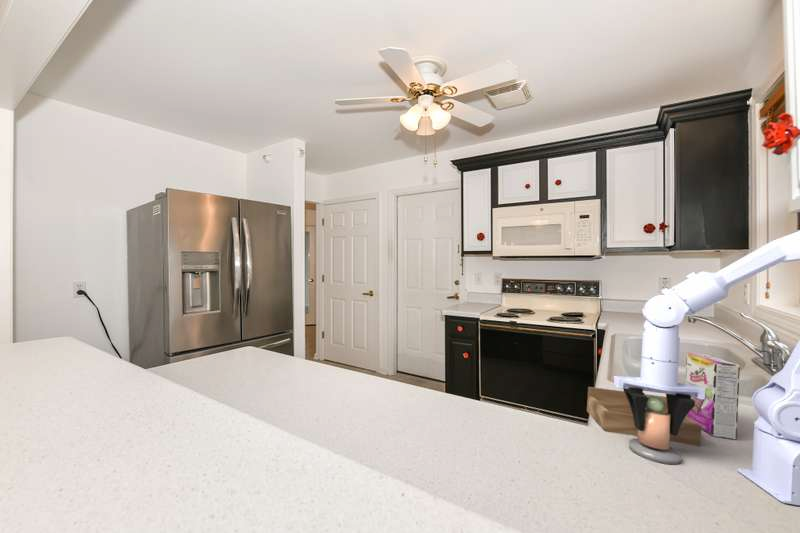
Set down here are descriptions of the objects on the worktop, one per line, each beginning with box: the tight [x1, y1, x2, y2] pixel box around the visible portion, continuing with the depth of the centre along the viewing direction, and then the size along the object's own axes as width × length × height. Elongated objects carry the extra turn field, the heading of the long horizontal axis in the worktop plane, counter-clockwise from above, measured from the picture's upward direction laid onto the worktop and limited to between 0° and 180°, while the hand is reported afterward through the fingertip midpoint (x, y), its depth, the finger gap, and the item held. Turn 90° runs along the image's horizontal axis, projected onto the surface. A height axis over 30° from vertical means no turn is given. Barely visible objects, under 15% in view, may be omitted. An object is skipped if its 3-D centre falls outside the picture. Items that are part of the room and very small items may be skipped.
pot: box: [636, 395, 671, 449], centre depth 68 cm, size 5×5×9 cm
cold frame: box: [586, 386, 703, 447], centre depth 80 cm, size 12×18×6 cm, turn 78°
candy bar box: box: [685, 352, 741, 440], centre depth 83 cm, size 11×5×16 cm, turn 168°
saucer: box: [628, 437, 682, 466], centre depth 67 cm, size 8×8×1 cm
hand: (655, 431), depth 67 cm, fingers closed on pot, 5 cm apart
